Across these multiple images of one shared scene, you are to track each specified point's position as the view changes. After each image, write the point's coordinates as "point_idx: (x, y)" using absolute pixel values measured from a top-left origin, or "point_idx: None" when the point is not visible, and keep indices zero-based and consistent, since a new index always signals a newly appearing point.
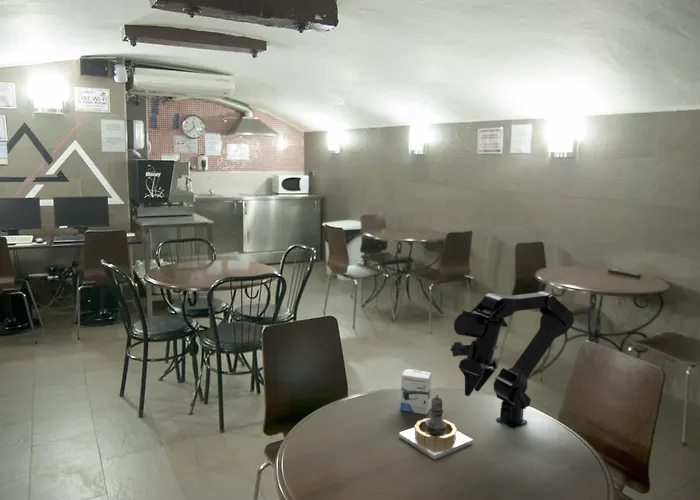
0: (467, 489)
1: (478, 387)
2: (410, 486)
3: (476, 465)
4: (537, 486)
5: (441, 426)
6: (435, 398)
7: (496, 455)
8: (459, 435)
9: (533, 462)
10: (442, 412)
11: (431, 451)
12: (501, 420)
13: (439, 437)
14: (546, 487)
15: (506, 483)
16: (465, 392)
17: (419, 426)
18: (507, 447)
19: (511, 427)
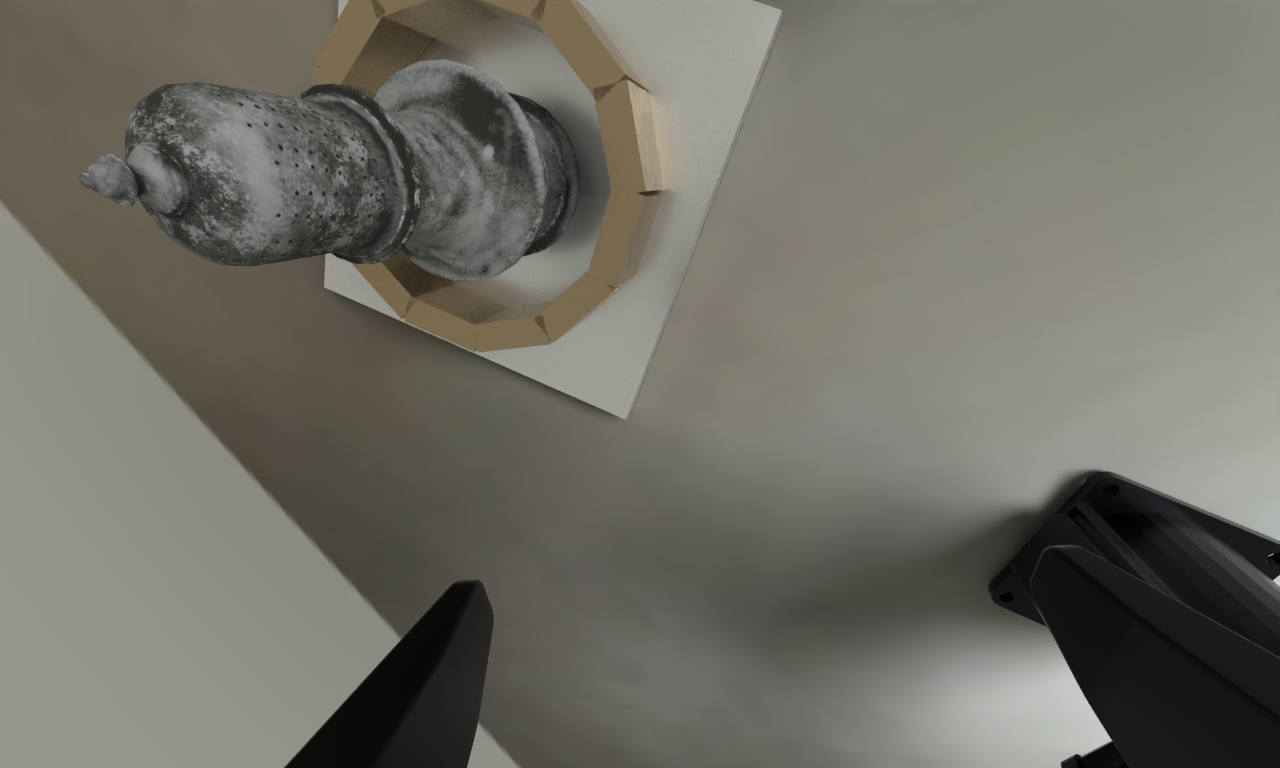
0: (291, 488)
1: (1088, 647)
2: (124, 282)
3: (454, 480)
4: (490, 690)
5: (423, 253)
6: (135, 160)
7: (599, 543)
8: (626, 328)
9: (646, 681)
10: (358, 263)
11: None
12: (1049, 533)
13: (370, 278)
14: (505, 713)
15: (428, 602)
16: (428, 621)
17: (424, 12)
18: (714, 579)
19: (993, 582)
